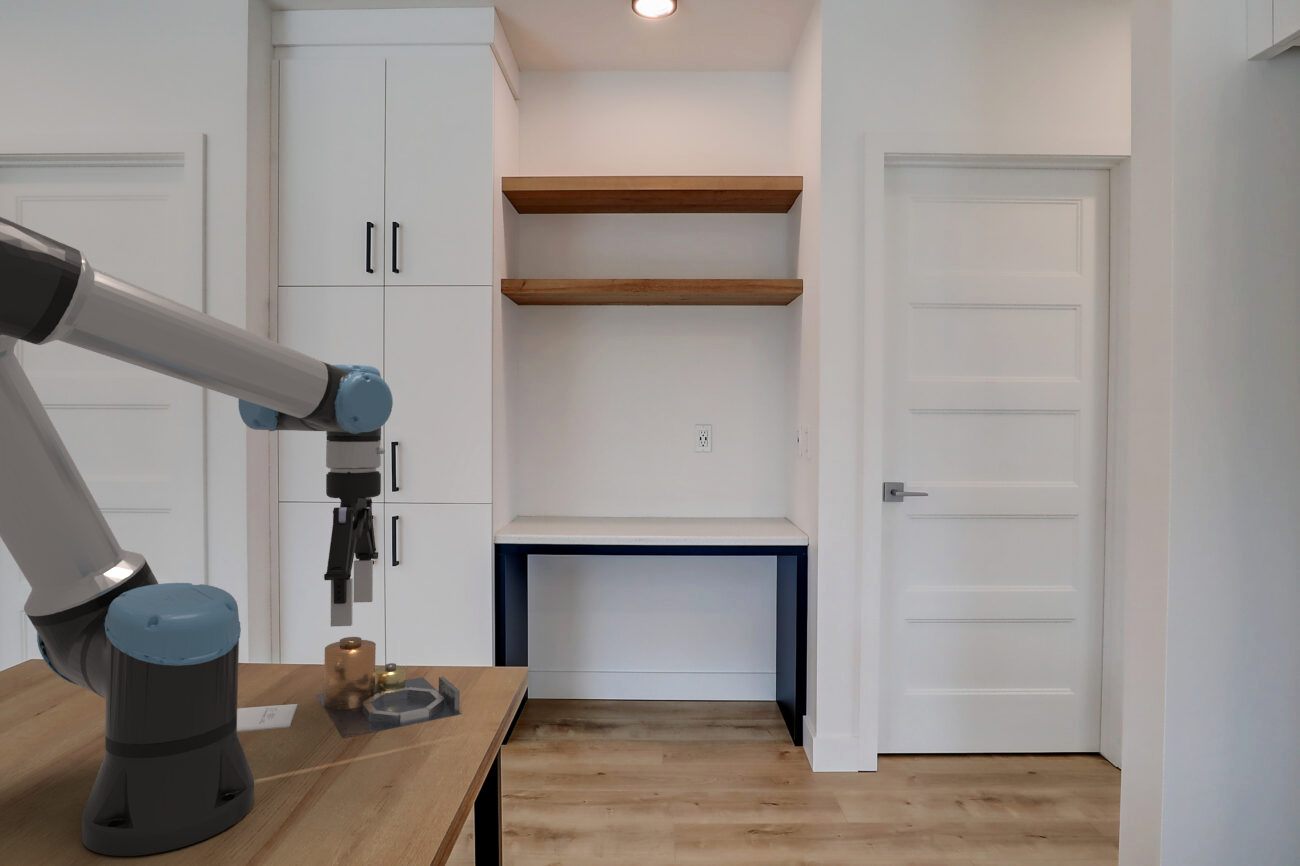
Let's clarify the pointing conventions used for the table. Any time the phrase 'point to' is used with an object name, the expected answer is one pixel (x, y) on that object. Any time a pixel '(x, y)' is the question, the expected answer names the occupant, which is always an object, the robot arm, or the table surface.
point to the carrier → (396, 704)
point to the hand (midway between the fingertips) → (352, 613)
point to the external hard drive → (265, 717)
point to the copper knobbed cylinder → (349, 673)
